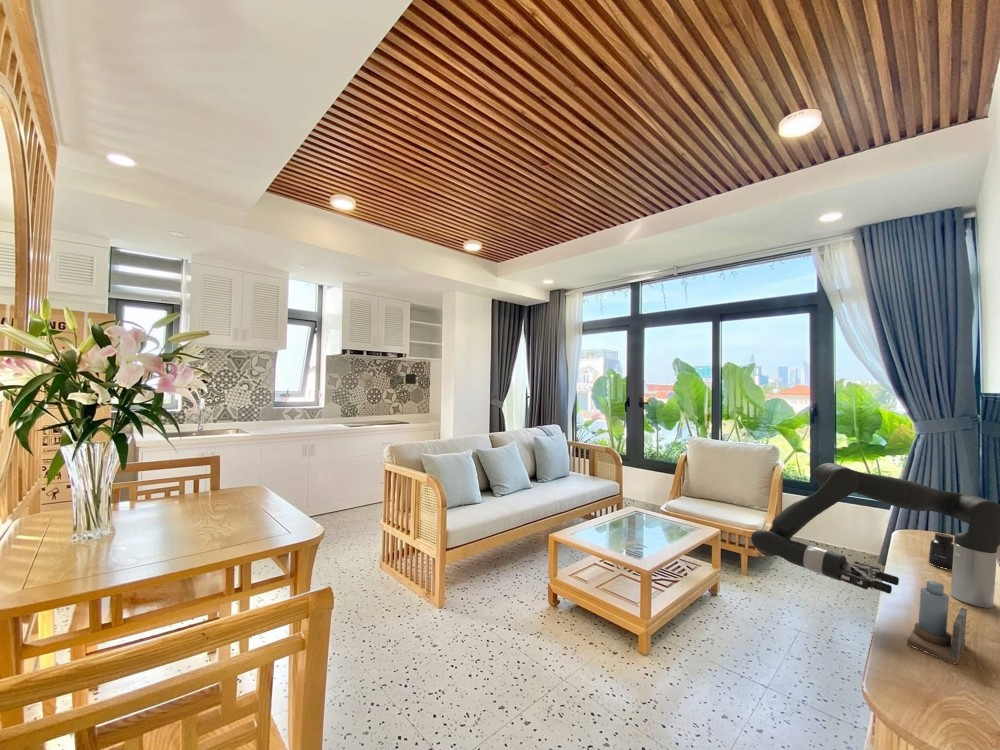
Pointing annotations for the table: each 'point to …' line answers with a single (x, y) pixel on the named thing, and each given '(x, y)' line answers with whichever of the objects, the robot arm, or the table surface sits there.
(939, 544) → the supplement bottle
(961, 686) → the table surface
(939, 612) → the blue grey bottle
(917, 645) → the display stand
